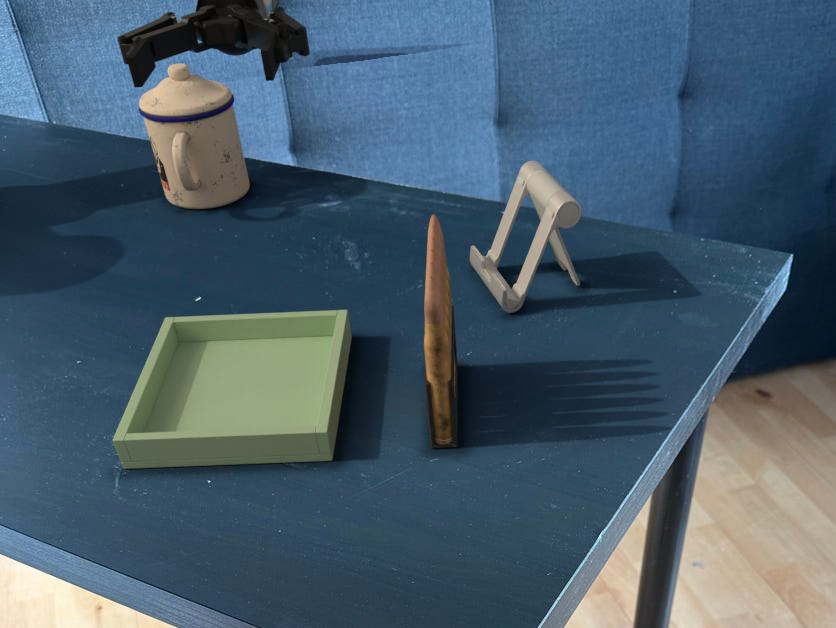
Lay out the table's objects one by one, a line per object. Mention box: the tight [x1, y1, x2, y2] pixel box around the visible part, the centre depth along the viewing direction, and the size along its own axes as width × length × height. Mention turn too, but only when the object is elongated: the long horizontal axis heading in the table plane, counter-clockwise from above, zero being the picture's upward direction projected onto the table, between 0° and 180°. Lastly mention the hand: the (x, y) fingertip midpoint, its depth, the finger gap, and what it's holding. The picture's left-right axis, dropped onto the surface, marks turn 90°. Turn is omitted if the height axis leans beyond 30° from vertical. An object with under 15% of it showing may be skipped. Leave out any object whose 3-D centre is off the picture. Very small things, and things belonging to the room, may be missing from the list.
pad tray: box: [112, 309, 353, 470], centre depth 69 cm, size 15×17×2 cm
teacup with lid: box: [138, 62, 251, 210], centre depth 91 cm, size 12×9×12 cm
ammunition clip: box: [423, 213, 459, 449], centre depth 64 cm, size 11×2×12 cm, turn 1°
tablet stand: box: [469, 160, 582, 314], centre depth 78 cm, size 9×8×8 cm
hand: (200, 69), depth 95 cm, fingers open, 13 cm apart
